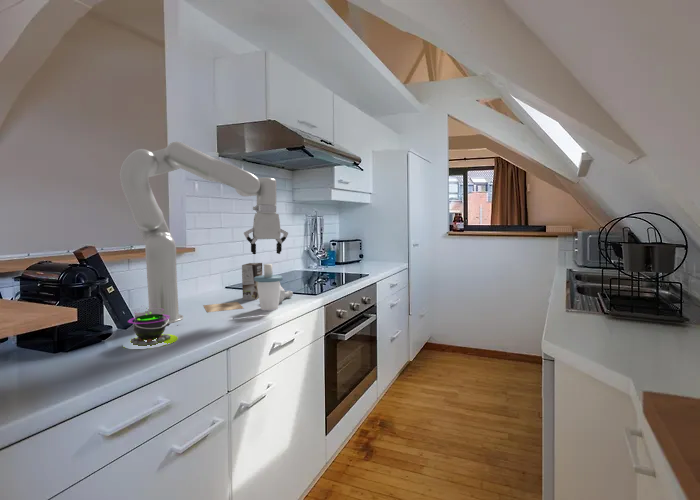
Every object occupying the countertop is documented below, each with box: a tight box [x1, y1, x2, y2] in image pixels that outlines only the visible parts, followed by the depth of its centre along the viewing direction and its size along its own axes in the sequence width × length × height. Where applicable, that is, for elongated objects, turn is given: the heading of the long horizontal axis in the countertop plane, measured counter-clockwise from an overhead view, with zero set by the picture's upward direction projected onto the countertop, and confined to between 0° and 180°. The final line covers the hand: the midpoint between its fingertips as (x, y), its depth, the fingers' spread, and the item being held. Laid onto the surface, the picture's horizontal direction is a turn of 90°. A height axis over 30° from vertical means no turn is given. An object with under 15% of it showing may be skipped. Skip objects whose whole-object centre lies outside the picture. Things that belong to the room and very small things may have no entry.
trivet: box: [203, 301, 245, 313], centre depth 164 cm, size 14×14×1 cm
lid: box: [254, 263, 284, 282], centre depth 159 cm, size 11×11×6 cm
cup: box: [257, 281, 282, 311], centre depth 160 cm, size 9×9×12 cm
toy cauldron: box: [127, 304, 179, 346], centre depth 120 cm, size 15×15×11 cm
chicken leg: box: [279, 286, 294, 304], centre depth 177 cm, size 8×18×8 cm, turn 162°
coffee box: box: [241, 262, 263, 301], centre depth 182 cm, size 9×6×16 cm
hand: (266, 253), depth 158 cm, fingers open, 9 cm apart
